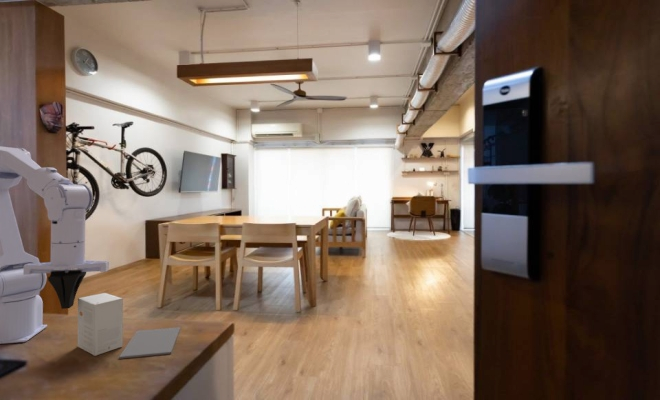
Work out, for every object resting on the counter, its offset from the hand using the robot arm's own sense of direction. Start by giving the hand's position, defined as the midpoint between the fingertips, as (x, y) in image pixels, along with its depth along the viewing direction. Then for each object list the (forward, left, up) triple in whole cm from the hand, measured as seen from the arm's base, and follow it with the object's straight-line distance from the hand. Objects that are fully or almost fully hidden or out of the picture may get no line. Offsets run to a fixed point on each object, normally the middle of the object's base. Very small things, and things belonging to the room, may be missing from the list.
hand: (67, 307), depth 72 cm
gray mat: (0, +16, -9) cm, 19 cm away
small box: (0, +6, -9) cm, 11 cm away
